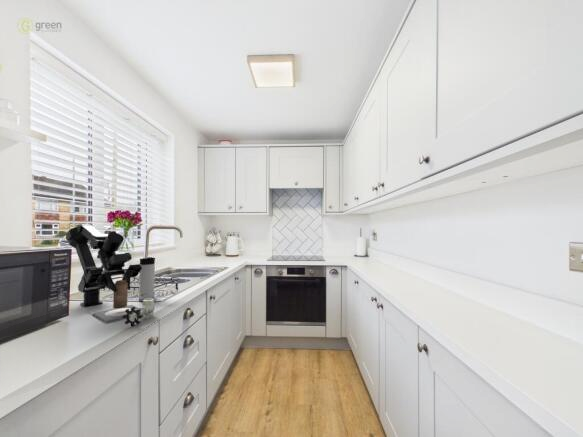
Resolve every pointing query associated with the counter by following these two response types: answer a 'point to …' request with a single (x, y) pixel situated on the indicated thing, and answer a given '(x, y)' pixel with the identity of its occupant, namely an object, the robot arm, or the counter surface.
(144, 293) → the travel mug
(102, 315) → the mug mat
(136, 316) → the valve
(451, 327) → the counter surface
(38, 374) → the counter surface
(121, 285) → the pepper mill
